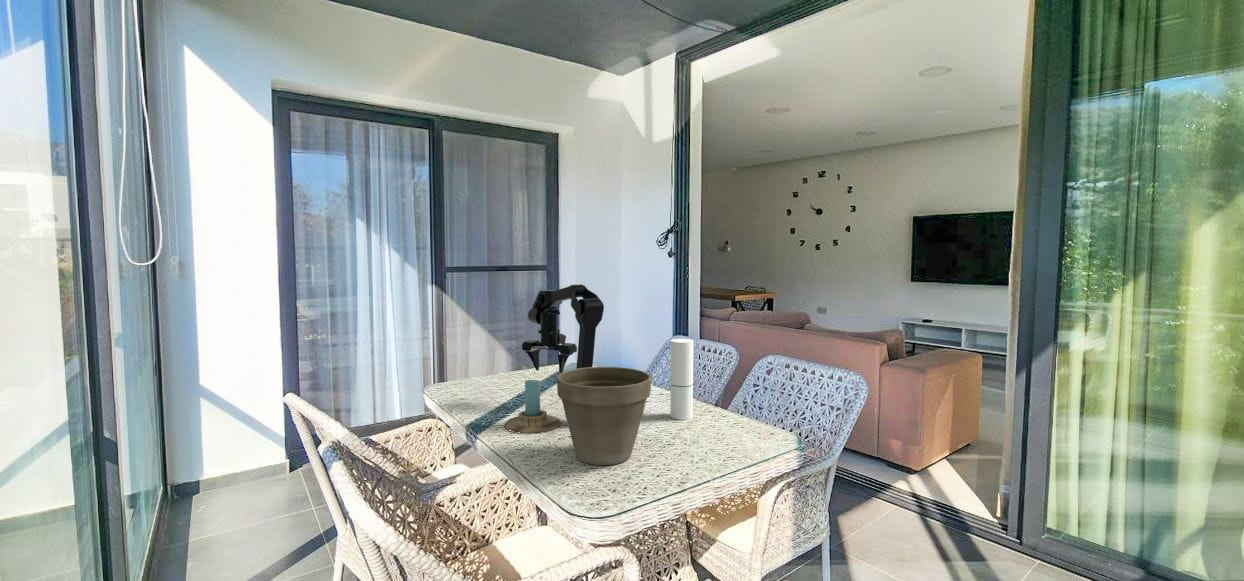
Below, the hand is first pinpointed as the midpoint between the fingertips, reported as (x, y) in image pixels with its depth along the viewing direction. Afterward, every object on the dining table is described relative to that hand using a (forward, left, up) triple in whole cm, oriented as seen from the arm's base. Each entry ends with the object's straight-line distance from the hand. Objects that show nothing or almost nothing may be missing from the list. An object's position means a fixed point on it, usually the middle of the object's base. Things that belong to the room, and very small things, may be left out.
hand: (549, 371), depth 194 cm
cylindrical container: (-45, -7, -12) cm, 47 cm away
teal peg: (-5, +19, -12) cm, 23 cm away
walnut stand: (-5, +19, -12) cm, 23 cm away
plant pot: (-36, +33, -12) cm, 50 cm away
